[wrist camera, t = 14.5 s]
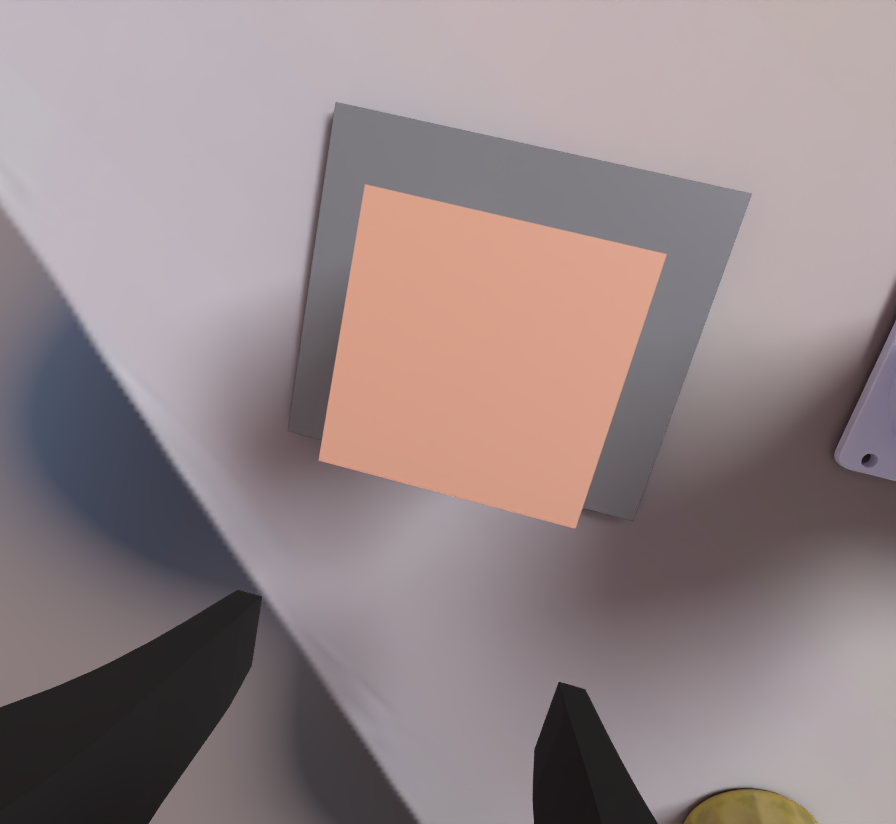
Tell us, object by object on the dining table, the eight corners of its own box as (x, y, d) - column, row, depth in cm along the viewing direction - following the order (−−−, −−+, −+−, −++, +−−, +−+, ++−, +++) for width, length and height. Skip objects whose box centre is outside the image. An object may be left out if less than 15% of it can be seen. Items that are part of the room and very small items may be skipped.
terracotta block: (612, 259, 13) (666, 254, 8) (556, 443, 15) (575, 528, 10) (418, 214, 13) (364, 184, 9) (382, 398, 15) (318, 460, 10)
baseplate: (744, 196, 18) (754, 193, 17) (629, 514, 21) (634, 523, 20) (341, 106, 18) (333, 100, 18) (293, 426, 22) (285, 432, 21)
